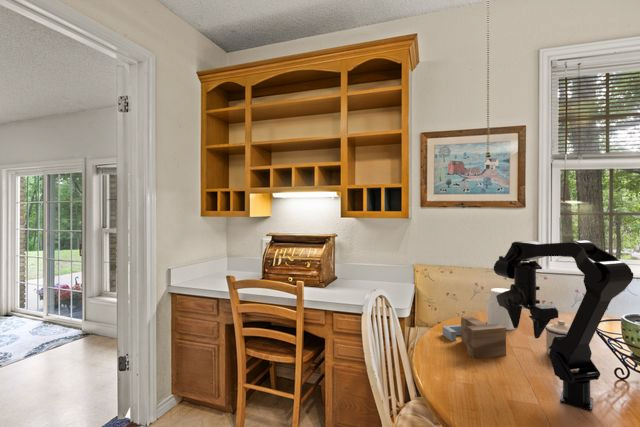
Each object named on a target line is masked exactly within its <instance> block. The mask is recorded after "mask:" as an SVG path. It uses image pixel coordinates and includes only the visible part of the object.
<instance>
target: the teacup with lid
mask: <svg viewBox="0 0 640 427" xmlns="http://www.w3.org/2000/svg"><path fill="white" fill-rule="evenodd" d="M570 326H571V325H569V324H568V323H566V322H565V321H564V320H562V319H559V320H557V322H554V323H548V324H547V325H546V327H545V329H544V330H545V334H546V335H545V337H546V338H545V339H546V341H545V342H546V345H545V346H546V348H545V349H546V354H547V355H549V353H550V350H551V349H549V347H550V346H551V345H552V341H553V339H554V337H557V336H566V335H567V333H568V330H569V328H570Z"/></svg>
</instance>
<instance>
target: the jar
mask: <svg viewBox="0 0 640 427" xmlns="http://www.w3.org/2000/svg"><path fill="white" fill-rule="evenodd" d="M508 290H510V289H509V288H504V287H503V288H501V287H499V288H498V287H493V288H491V289H490V295H489V297H488V298H486V324H487V325H489V324H499V325H501V326H503V327H505V328H506V331H507V330H508V331H514V330H517V329H518V328H514V327H513V324H512V321H511V319H510V316H509V313H508V311H507V310H506V309H505V308H504V307H502V306H499V303H498V302H497V298H496V296H497V295H499V294H501V293H503V292H505V291H508Z"/></svg>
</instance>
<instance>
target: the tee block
mask: <svg viewBox="0 0 640 427" xmlns="http://www.w3.org/2000/svg"><path fill="white" fill-rule="evenodd" d="M460 325H461V335H460V336H461V340H460V341H461V343H463V344H464V345H466V354H467V355H469V356H470V357H471V358H472V359H484V358H492V357H502V356H503V357H505V356H507V330H506V328H505V327H503V326H501V325H499V324H489V325H488V324H487V323H486V322H483V321H482V320H480V319H478V318H476V317H474V316H471V315H466V316H463V315H462V316H460Z"/></svg>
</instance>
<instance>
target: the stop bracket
mask: <svg viewBox="0 0 640 427" xmlns="http://www.w3.org/2000/svg"><path fill="white" fill-rule="evenodd" d="M442 336H444V337H445V338H446V339H448V340H449V341H451V342H456V341H457V336H461V324H456V325H455V324H453V325H452V324H451V325H443V326H442Z"/></svg>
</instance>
